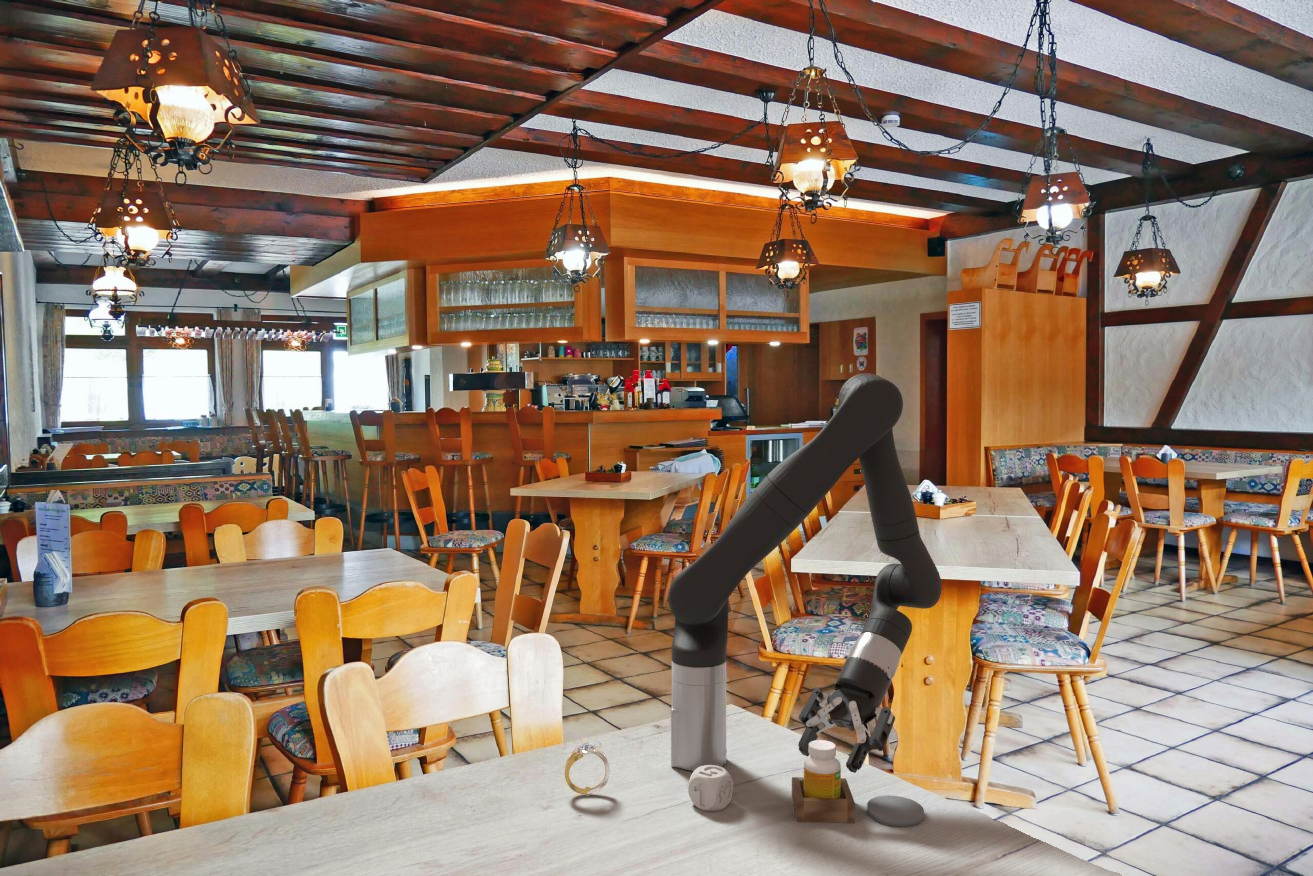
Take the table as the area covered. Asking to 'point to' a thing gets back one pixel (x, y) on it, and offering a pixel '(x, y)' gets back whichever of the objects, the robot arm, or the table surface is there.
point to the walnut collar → (823, 805)
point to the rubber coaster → (895, 811)
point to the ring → (582, 750)
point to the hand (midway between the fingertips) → (826, 761)
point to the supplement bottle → (822, 771)
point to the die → (710, 787)
